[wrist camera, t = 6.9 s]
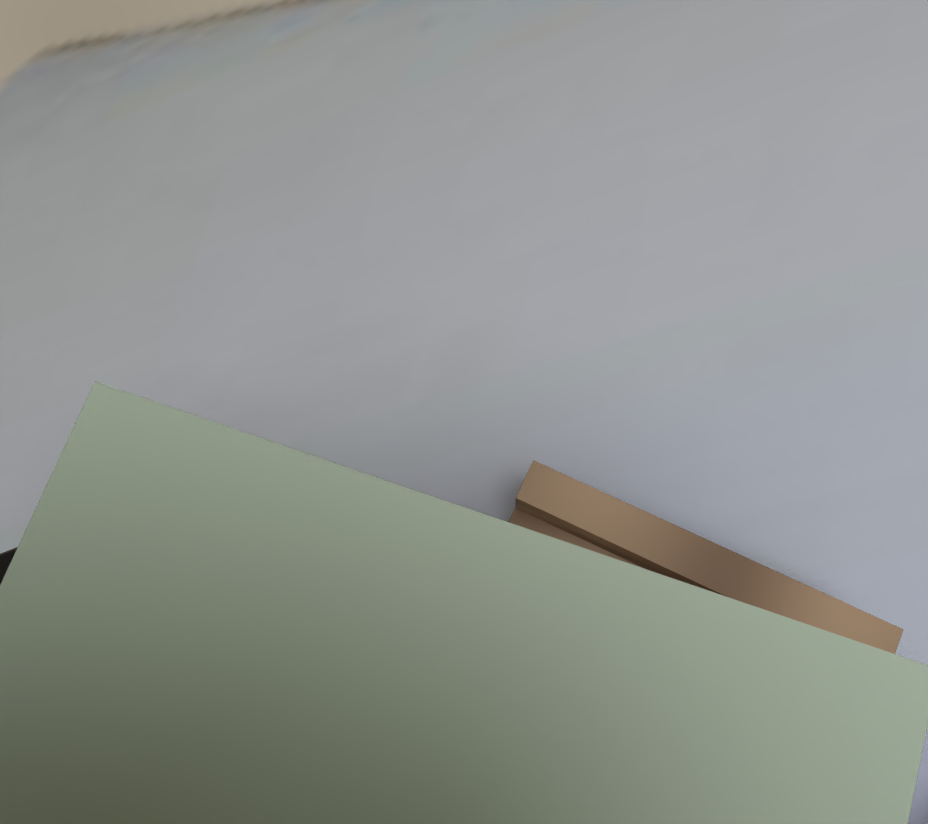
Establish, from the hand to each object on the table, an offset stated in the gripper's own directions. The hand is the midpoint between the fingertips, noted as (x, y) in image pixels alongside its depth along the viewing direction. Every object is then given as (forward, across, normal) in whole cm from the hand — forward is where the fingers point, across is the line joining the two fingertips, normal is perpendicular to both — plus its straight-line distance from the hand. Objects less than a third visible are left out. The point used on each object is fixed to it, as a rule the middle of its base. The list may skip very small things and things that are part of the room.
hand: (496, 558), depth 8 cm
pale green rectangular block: (+4, 0, +6) cm, 7 cm away
